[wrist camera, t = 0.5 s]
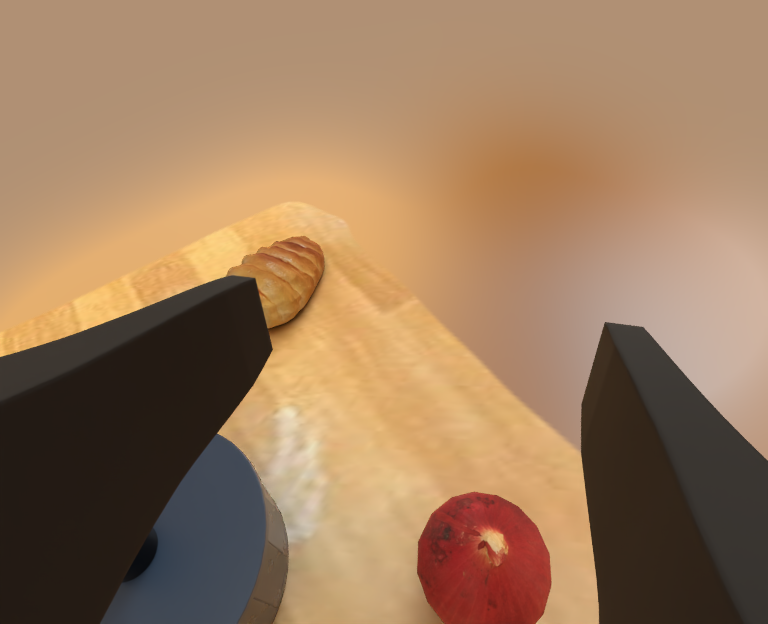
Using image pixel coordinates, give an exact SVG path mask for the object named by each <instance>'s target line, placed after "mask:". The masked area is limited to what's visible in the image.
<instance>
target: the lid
mask: <svg viewBox="0 0 768 624" xmlns="http://www.w3.org/2000/svg"><path fill="white" fill-rule="evenodd" d="M268 534H269V519H268V507H267V502H266V496H265V492H264V489H263V486H262V483H261V480H260V478H259V476H258V474H257V472H256V470H255V468H254V467H253V465H252V464H251V462H250V461H249V460H248V458H247V457H246V456H245V455H244V453H243V452H242V451H241V450H240V449H239V448H237V447H236V446H235V445H234V444H233V443H232V442H230V441H229V440H227V439H226V438H224V437H223V436H221V435H219V434H216V435H215V437H214V438H213V439H212V440H211V442H210V443H209V444H208V446H207V447H206V448H205V450H204V451H203V452H202V453H201V455H200V456H199V457H198V459H197V460H196V461H195V463H194V464H193V465H192V467H191V468H190V470H189V471H188V472H187V474H186V475H185V477H184V478H183V480H182V481H181V482H180V484H179V485H178V487H177V489H176V490H175V492H174V494H173V495H172V497H171V498H170V500H169V502H168V503H167V505H166V507H165V508H164V510H163V511H162V513H161V515H160V516H159V518H158V519H157V521H156V523H155V524H154V526H153V528H152V530H151V531H150V533H149V535H148V537H147V538H146V540H145V542H144V544H143V545H142V547H141V549H140V550H139V552H138V554H137V556H136V557H135V559H134V561H133V563H132V564H131V566H130V568H129V570H128V572H127V573H126V575H125V577H124V579H123V581H122V583H121V585H120V587H119V589H118V591H117V592H116V594H115V596H114V598H113V600H112V602H111V604H110V606H109V608H108V610H107V611H106V613H105V615H104V617H103V619H102V621H101V623H100V624H241V623H242V622H243V620H244V618H245V616H246V614H247V612H248V610H249V608H250V606H251V603H252V601H253V598H254V596H255V593H256V591H257V588H258V585H259V582H260V579H261V575H262V572H263V568H264V564H265V559H266V553H267V547H268Z"/></svg>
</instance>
